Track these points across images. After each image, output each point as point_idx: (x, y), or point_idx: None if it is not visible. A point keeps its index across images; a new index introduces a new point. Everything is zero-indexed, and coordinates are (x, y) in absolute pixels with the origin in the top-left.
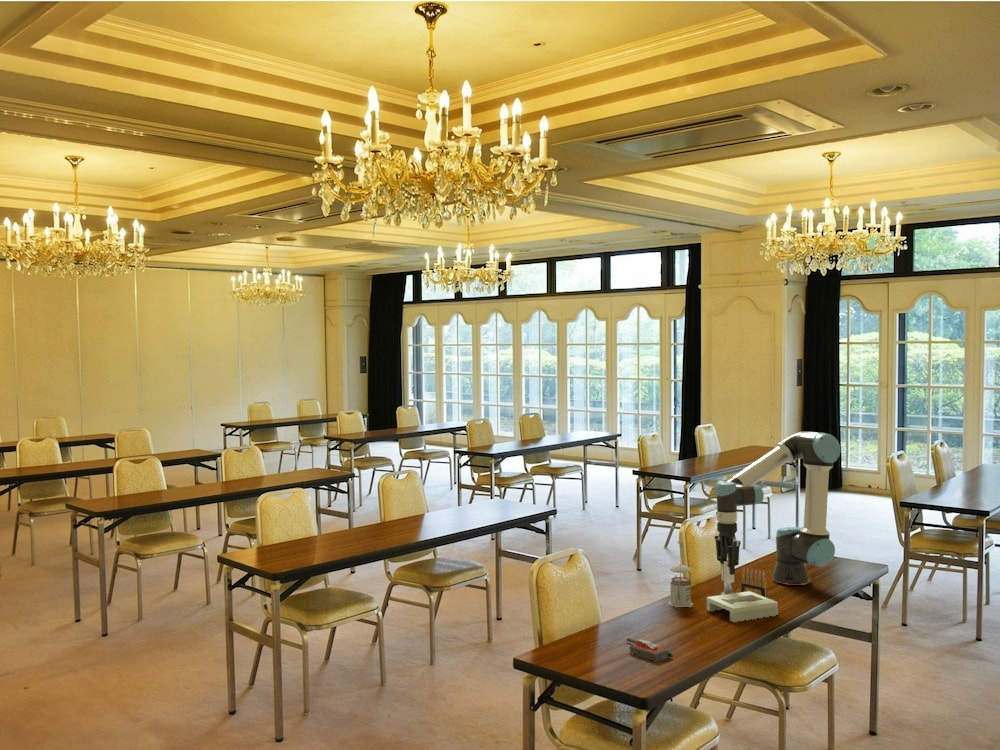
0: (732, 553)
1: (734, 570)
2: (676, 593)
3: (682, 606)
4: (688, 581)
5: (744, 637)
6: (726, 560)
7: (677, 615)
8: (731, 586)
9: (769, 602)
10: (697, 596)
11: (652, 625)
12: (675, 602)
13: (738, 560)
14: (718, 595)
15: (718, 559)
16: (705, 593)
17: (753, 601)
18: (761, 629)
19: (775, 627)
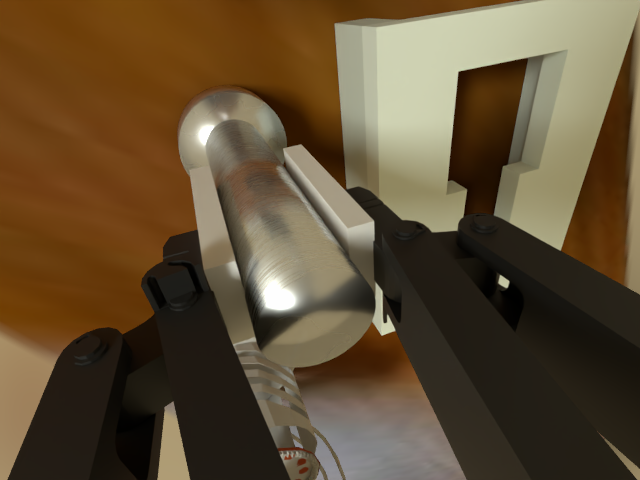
0: (617, 433)
1: (386, 208)
2: (286, 434)
3: (292, 370)
4: (311, 452)
5: (603, 255)
6: (275, 330)
7: (368, 385)
8: (274, 153)
9: (616, 51)
10: (103, 283)
11: (414, 434)
12: (272, 400)
13: (555, 253)
14: None
15: (154, 412)
16: (12, 218)
17: (549, 140)
18: (605, 177)
19: (630, 113)
